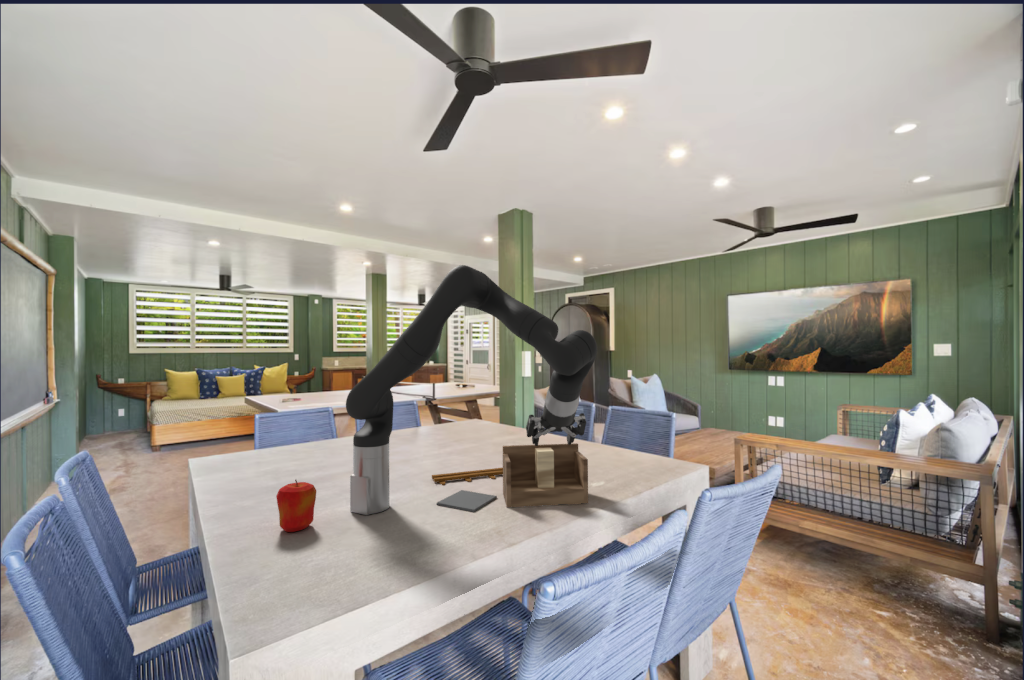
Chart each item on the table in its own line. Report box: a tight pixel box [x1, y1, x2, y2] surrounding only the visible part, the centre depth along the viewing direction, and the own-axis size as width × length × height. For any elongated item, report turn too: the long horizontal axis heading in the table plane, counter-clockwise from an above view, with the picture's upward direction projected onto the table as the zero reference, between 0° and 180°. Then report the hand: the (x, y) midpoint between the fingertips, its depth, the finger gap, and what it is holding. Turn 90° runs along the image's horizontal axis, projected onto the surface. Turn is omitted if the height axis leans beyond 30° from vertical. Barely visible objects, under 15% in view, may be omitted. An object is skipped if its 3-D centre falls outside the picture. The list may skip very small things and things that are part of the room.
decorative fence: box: [431, 467, 503, 486], centre depth 146 cm, size 25×2×10 cm
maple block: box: [535, 448, 554, 488], centre depth 124 cm, size 4×4×10 cm
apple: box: [275, 479, 317, 533], centre depth 105 cm, size 9×8×12 cm
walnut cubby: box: [502, 443, 589, 508], centre depth 125 cm, size 11×22×14 cm, turn 96°
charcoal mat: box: [436, 489, 498, 513], centre depth 123 cm, size 12×12×1 cm
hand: (552, 442), depth 113 cm, fingers open, 8 cm apart
